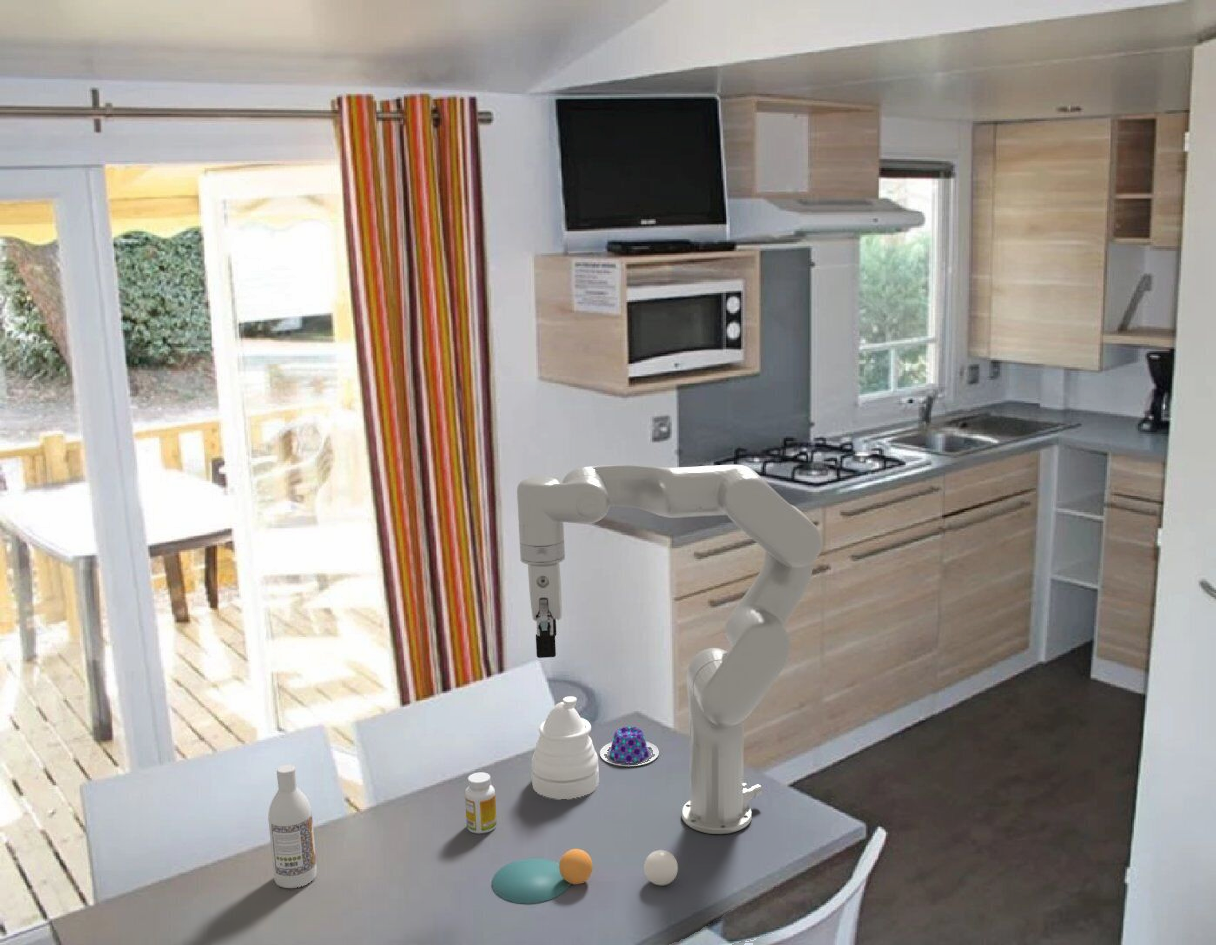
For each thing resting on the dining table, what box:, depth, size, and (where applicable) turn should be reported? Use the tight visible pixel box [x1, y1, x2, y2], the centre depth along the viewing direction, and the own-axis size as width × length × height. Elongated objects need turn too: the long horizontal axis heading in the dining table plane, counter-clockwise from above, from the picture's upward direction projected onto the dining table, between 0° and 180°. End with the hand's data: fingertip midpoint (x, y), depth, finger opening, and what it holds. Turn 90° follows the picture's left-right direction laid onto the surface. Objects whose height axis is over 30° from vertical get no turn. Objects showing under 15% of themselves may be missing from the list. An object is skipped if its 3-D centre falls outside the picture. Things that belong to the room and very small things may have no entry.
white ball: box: [643, 849, 679, 886], centre depth 194 cm, size 6×6×6 cm
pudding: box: [599, 726, 660, 767], centre depth 239 cm, size 12×12×5 cm
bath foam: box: [268, 764, 318, 889], centre depth 196 cm, size 7×7×20 cm
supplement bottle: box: [464, 771, 498, 834], centre depth 212 cm, size 5×5×10 cm
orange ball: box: [559, 848, 594, 885], centre depth 195 cm, size 6×6×6 cm
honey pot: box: [531, 695, 600, 800], centre depth 227 cm, size 13×13×18 cm
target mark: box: [491, 857, 571, 905], centre depth 196 cm, size 13×13×1 cm
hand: (546, 646), depth 204 cm, fingers open, 9 cm apart
